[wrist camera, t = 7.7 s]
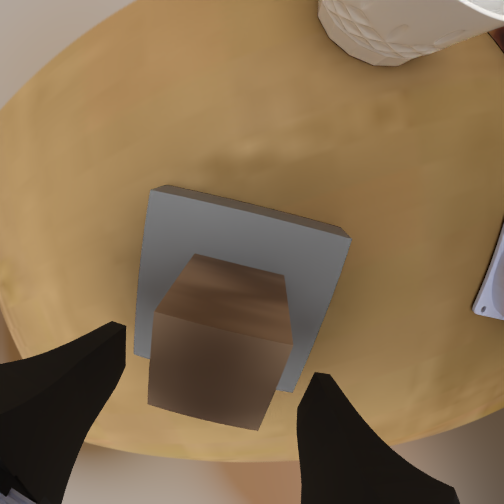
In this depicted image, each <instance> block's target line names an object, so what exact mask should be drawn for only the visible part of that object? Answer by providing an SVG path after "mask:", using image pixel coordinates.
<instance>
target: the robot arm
mask: <svg viewBox="0 0 504 504" xmlns="http://www.w3.org/2000/svg"><path fill="white" fill-rule="evenodd" d="M482 307H483V308H482ZM472 310H473V312H474V313H475V314H478V315H483V316H487V317H492V318H496V319H501V320H504V224H503V228H502V231H501V234H500V237H499V240H498V243H497V246H496V249H495V252H494V255H493V258H492V261H491V263H490V266H489V269H488V271H487V274H486V276H485V279H484V281H483V284H482V286H481V289H480V291H479V293H478V296H477V298H476V300H475V302H474V305H473V307H472ZM125 366H126V326H125V325H122V324H119V323H116V322H113V321H111V322H109V323H107V324H105V325H103V326H101V327H99V328H97V329H95V330H94V331H92V332H90V333H88V334H86V335H84V336H82V337H80V338H78V339H76V340H74V341H72V342H69V343H67V344H65V345H62V346H60V347H58V348H55V349H53V350H51V351H48V352H45V353H43V354H40V355H36V356H33V357H30V358H26V359H22V360H18V361H14V362H8V363H3V364H0V504H61V503H62V500H63V496H64V493H65V489H66V486H67V483H68V480H69V477H70V474H71V471H72V468H73V466H74V463H75V461H76V458H77V455H78V453H79V451H80V448H81V446H82V444H83V442H84V439H85V437H86V435H87V433H88V431H89V429H90V427H91V426H92V424H93V422H94V421H95V419H96V418H97V416H98V415H99V413H100V411H101V410H102V408H103V407H104V405H105V403H106V402H107V400H108V399H109V397H110V396H111V394H112V392H113V391H114V389H115V388H116V386H117V384H118V382H119V379H120V377H121V375H122V373H123V371H124V368H125ZM297 440H298V450H299V460H300V469H301V483H302V490H301V504H460V502H459V499H458V497H457V494H456V492H455V489H454V488H453V487H451V486H449V485H447V484H444V483H443V482H440V481H438V480H436V479H434V478H432V477H431V476H429V475H427V474H425V473H424V472H422V471H421V470H419V469H417V468H416V467H414V466H413V465H412V464H410V463H409V462H407V461H406V460H405V459H403V458H402V457H401V456H400V455H398V454H397V453H396V452H395V451H393V450H392V449H391V448H390V447H389V446H388V445H387V444H386V443H385V442H384V441H383V440H382V439H381V438H380V437H379V436H378V435H377V434H376V433H375V432H374V431H373V430H372V429H371V428H370V427H369V425H368V424H367V423H366V422H365V421H364V420H363V418H362V417H361V416H360V415H359V413H358V412H357V411H356V410H355V408H354V407H353V406H352V404H351V403H350V402H349V400H348V399H347V397H346V396H345V395H344V393H343V392H342V390H341V389H340V388H339V386H338V385H337V383H336V382H335V381H334V379H333V378H332V377H331V375H330V374H324V373H317V372H315V373H314V375H313V377H312V379H311V381H310V383H309V386H308V388H307V390H306V392H305V394H304V396H303V398H302V400H301V402H300V404H299V406H298V408H297Z"/></svg>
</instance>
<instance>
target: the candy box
mask: <svg viewBox="0 0 504 504" xmlns="http://www.w3.org/2000/svg"><path fill="white" fill-rule="evenodd" d="M488 33H489V34H490V35H491V36H492V37H493V39H494V40H495V41H496V42H497V43H498V45H499V46H500V47H501V49H502V50H503V52H504V27H501V28H498V29H495V30H492V31H489V32H488Z"/></svg>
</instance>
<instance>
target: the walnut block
mask: <svg viewBox="0 0 504 504" xmlns="http://www.w3.org/2000/svg"><path fill="white" fill-rule="evenodd" d="M292 347H293V339H292V331H291V323H290V315H289V308H288V300H287V293H286V285H285V278H284V275H281V274H277V273H273V272H269V271H264V270H260V269H256V268H252V267H248V266H244V265H240V264H236V263H232V262H228V261H224V260H220V259H216V258H212V257H207V256H203V255H199V254H194V255H193V256H192V258H191V259H190V261H189V262H188V263H187V265H186V266H185V268H184V269H183V270H182V272H181V273H180V275H179V276H178V278H177V279H176V280H175V282H174V283H173V285H172V286H171V288H170V289H169V290H168V292H167V293H166V295H165V296H164V298H163V299H162V301H161V302H160V303H159V305H158V306H157V308H156V309H155V311H154V317H153V328H152V339H151V352H150V366H149V384H148V404H149V405H152V406H155V407H159V408H162V409H165V410H169V411H172V412H176V413H179V414H183V415H187V416H191V417H195V418H199V419H203V420H207V421H211V422H216V423H220V424H225V425H230V426H235V427H240V428H245V429H251V430H257V431H258V430H259V427H260V425H261V423H262V421H263V418H264V416H265V414H266V411H267V409H268V407H269V404H270V402H271V400H272V397H273V395H274V392H275V390H276V388H277V385H278V383H279V380H280V378H281V375H282V373H283V370H284V368H285V365H286V363H287V360H288V358H289V355H290V353H291V350H292Z"/></svg>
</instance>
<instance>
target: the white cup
mask: <svg viewBox="0 0 504 504" xmlns="http://www.w3.org/2000/svg"><path fill="white" fill-rule="evenodd" d="M318 18H319V20H320V21H321V23H322V25H323V27H324V29H325V31H326V33H327V35H328V37H329V38H330V39H331V40H333V41H334V42H335V43H336V44H337V45H338V46H340V47H341V48H342V49H343V50H344V51H345V52H346V53H347V54H349V55H350V56H353V57H355V58H358V59H360V60H362V61H365V62H367V63H369V64H372V65H375V66H399V65H401V64H403V63H405V62H407V61H409V60H412V59H414V58H416V57H419V56H423V55H429V54H431V53H433V52H437V51H439V50H442V49H445V48H447V47H450V46H452V45H455V44H457V43H460V42H462V41H465V40H467V39H470V38H473V37H476V36H478V35H481V34H484V33H486V32H489V31H492V30H495V29H498V28H501V27H504V0H318Z"/></svg>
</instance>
